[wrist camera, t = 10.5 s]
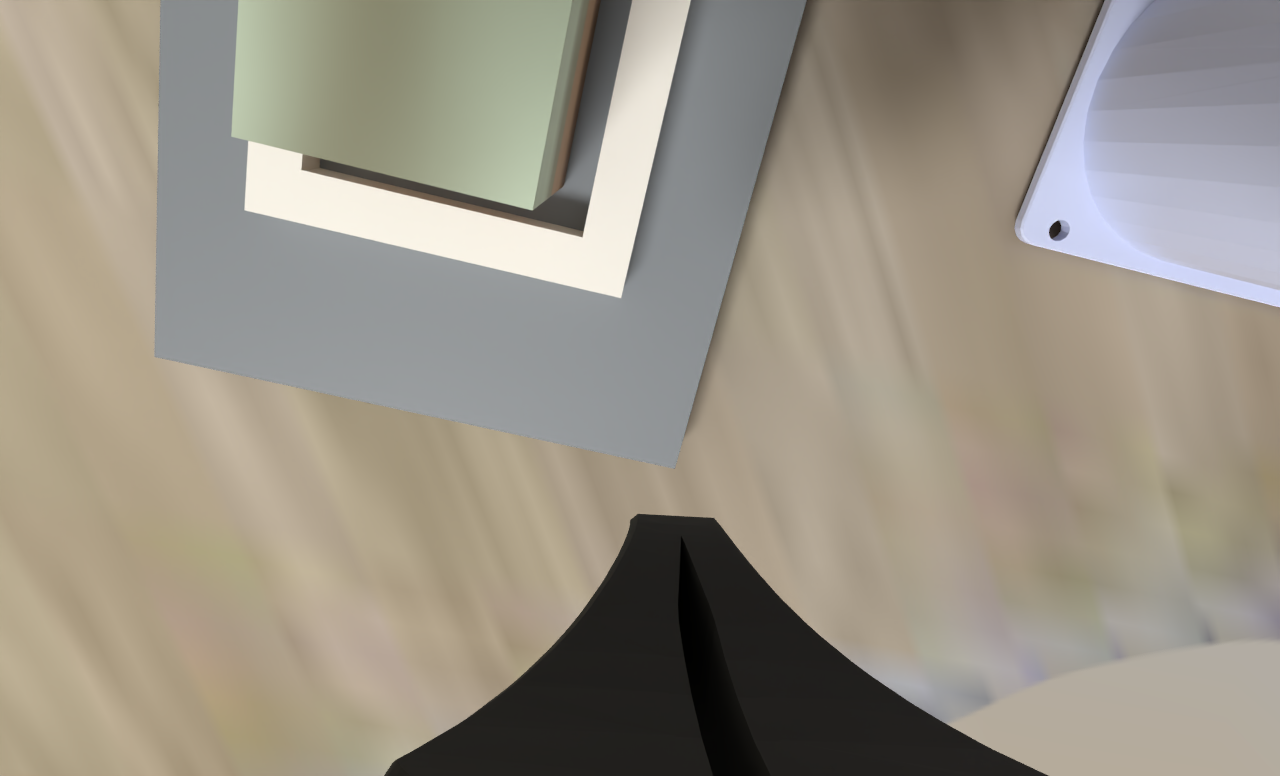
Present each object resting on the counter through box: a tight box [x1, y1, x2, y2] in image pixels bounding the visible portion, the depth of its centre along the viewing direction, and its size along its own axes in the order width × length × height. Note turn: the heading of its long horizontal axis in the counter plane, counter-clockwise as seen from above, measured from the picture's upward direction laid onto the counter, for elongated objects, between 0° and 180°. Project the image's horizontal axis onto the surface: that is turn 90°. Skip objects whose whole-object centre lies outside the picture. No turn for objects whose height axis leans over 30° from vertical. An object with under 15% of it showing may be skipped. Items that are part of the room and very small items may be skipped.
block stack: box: [231, 0, 601, 210], centre depth 14 cm, size 5×5×6 cm
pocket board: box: [155, 0, 807, 469], centre depth 17 cm, size 14×18×2 cm
